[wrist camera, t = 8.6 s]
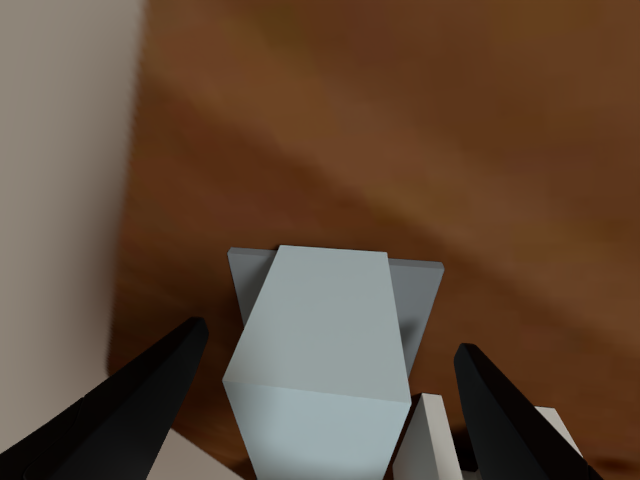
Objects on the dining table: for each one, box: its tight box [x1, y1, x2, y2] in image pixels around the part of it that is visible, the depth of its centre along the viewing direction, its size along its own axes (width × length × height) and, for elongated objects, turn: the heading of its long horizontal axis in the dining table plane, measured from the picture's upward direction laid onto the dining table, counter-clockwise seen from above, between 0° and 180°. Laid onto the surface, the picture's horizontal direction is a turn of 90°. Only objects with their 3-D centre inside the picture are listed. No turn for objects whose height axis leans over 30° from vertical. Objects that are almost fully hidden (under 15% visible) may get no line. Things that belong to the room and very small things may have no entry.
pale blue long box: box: [222, 245, 412, 480], centre depth 11 cm, size 15×4×5 cm, turn 0°
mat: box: [227, 247, 444, 379], centre depth 14 cm, size 14×8×1 cm, turn 0°
